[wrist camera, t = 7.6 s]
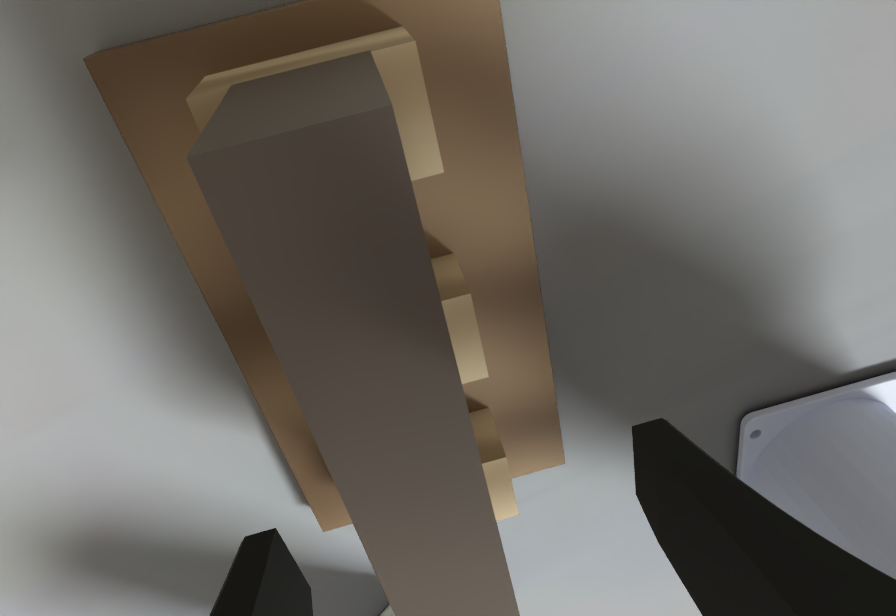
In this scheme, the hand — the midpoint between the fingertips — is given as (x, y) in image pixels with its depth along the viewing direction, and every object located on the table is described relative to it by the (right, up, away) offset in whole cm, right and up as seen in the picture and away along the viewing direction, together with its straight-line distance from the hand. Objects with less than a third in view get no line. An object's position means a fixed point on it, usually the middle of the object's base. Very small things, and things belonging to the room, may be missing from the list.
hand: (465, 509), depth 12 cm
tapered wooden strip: (-2, +3, +5) cm, 6 cm away
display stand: (-2, +4, +8) cm, 9 cm away
